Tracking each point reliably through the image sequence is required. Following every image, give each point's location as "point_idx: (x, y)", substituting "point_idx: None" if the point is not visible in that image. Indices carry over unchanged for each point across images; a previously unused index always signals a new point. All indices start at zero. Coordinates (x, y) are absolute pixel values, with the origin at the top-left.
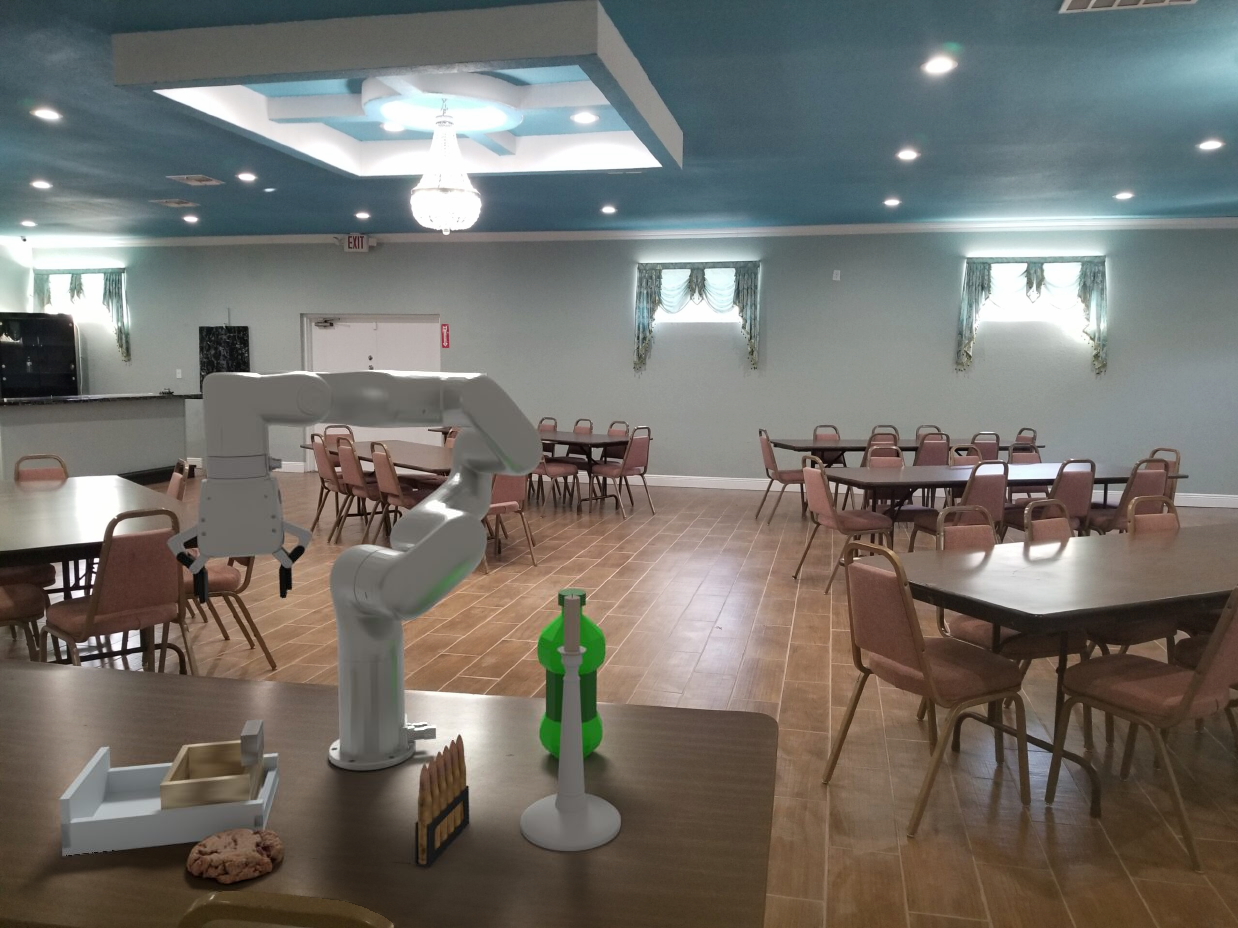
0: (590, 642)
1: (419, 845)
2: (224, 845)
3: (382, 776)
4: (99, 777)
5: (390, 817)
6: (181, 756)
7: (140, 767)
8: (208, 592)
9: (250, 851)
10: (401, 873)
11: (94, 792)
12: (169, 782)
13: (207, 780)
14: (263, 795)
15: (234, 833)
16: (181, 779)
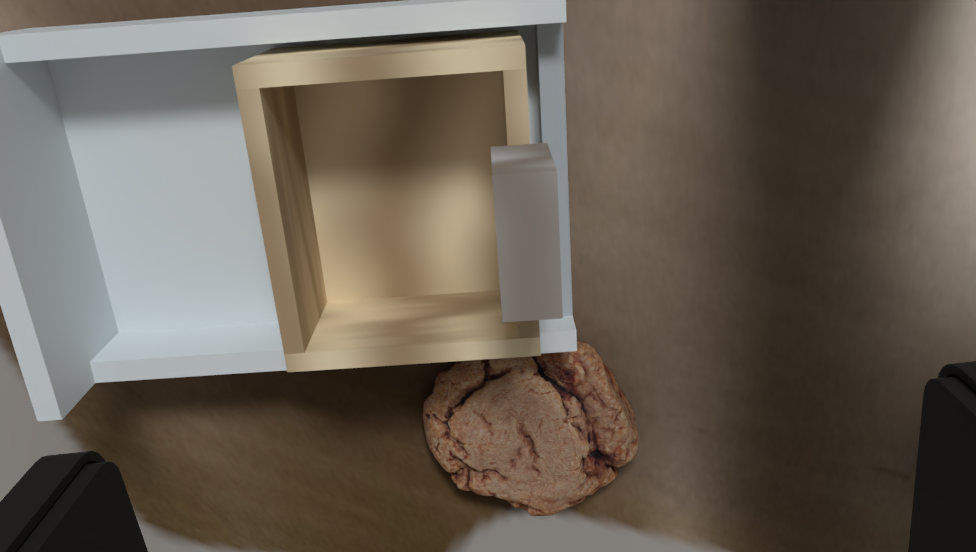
0: None
1: None
2: (510, 459)
3: (893, 14)
4: (19, 152)
5: (889, 279)
6: (267, 171)
7: (103, 45)
8: (92, 515)
9: (575, 491)
10: (885, 508)
11: (47, 197)
12: (308, 359)
13: (420, 360)
14: None
15: (520, 413)
16: (294, 188)
